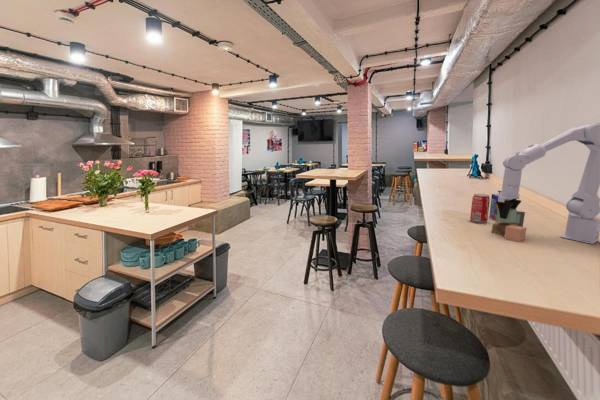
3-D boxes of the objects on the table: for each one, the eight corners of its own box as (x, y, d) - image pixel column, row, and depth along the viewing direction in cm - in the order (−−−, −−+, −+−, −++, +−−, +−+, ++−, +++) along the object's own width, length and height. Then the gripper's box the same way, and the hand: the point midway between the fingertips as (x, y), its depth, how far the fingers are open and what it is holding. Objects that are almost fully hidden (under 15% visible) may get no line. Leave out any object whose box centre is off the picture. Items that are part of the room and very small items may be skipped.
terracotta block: (524, 240, 113) (526, 227, 112) (518, 242, 110) (520, 229, 109) (509, 236, 117) (511, 224, 116) (504, 238, 114) (505, 226, 113)
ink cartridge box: (487, 217, 148) (491, 189, 145) (499, 217, 147) (503, 189, 145) (498, 222, 138) (503, 192, 135) (511, 222, 138) (515, 192, 135)
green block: (515, 221, 120) (517, 209, 119) (509, 222, 117) (511, 210, 117) (501, 218, 124) (503, 207, 123) (496, 220, 122) (497, 208, 121)
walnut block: (516, 233, 122) (517, 224, 121) (511, 237, 117) (512, 227, 116) (496, 229, 127) (498, 221, 126) (491, 232, 122) (492, 223, 122)
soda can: (487, 224, 135) (491, 196, 132) (469, 222, 138) (472, 195, 136) (487, 221, 141) (490, 194, 138) (469, 218, 144) (473, 193, 142)
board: (500, 224, 134) (503, 208, 133) (522, 227, 129) (525, 211, 128) (499, 226, 131) (502, 210, 129) (522, 230, 126) (524, 213, 124)
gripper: (507, 182, 125) (503, 213, 128) (491, 184, 117) (487, 217, 120) (527, 184, 119) (522, 216, 122) (511, 187, 112) (506, 221, 114)
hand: (506, 217), depth 121 cm, fingers closed on green block, 5 cm apart
